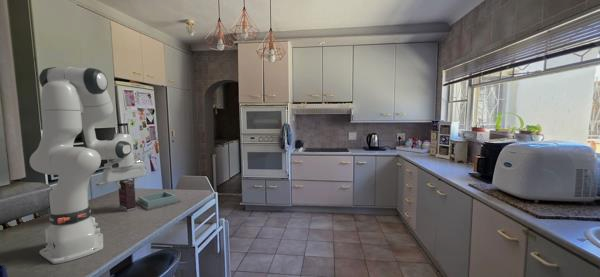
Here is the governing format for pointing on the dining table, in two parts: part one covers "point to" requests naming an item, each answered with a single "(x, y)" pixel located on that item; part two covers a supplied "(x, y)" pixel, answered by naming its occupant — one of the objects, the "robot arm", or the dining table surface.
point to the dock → (157, 200)
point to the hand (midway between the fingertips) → (126, 187)
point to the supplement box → (127, 195)
